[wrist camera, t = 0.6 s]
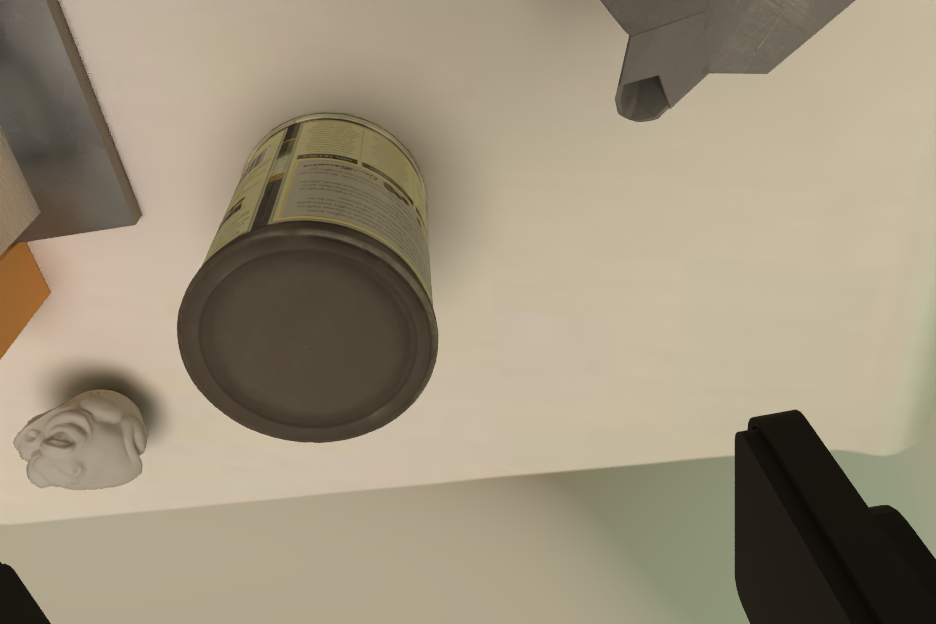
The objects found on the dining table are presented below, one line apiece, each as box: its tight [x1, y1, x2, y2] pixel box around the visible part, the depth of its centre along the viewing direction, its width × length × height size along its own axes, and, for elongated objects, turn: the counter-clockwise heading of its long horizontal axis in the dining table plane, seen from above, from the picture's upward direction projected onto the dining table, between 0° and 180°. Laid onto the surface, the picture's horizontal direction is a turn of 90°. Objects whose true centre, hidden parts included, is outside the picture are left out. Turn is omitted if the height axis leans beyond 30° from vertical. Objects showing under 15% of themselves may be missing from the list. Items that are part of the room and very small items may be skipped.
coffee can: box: [177, 113, 438, 443], centre depth 38 cm, size 10×10×14 cm
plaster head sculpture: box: [13, 389, 148, 490], centre depth 47 cm, size 6×7×7 cm
